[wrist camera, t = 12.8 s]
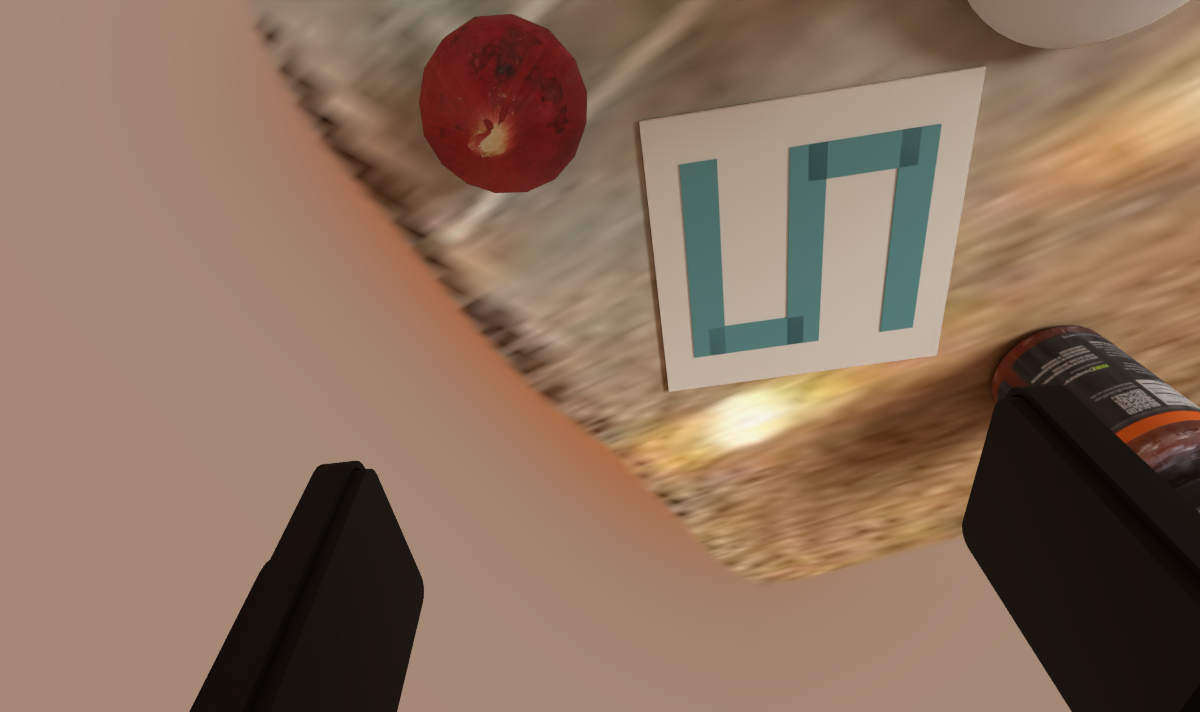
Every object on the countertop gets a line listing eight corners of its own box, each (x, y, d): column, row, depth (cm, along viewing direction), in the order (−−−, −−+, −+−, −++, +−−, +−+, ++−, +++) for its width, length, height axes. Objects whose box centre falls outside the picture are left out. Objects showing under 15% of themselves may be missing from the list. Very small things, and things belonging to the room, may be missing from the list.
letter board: (638, 121, 26) (639, 122, 26) (983, 65, 26) (987, 66, 25) (668, 389, 34) (669, 392, 34) (934, 353, 33) (937, 356, 33)
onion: (460, -19, 24) (413, -5, 17) (606, 39, 25) (617, 75, 18) (427, 133, 26) (376, 197, 20) (559, 179, 28) (554, 254, 21)
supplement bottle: (1025, 428, 36) (1183, 600, 27) (963, 378, 34) (1110, 546, 25) (1125, 357, 34) (1337, 519, 24) (1063, 299, 32) (1270, 452, 22)
